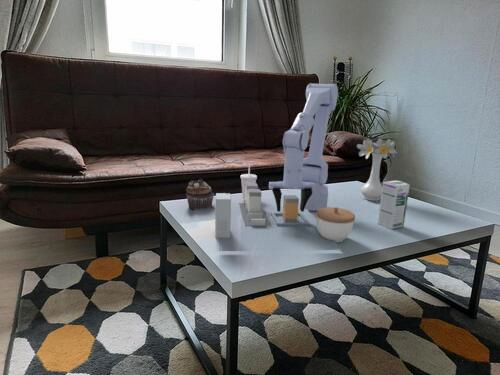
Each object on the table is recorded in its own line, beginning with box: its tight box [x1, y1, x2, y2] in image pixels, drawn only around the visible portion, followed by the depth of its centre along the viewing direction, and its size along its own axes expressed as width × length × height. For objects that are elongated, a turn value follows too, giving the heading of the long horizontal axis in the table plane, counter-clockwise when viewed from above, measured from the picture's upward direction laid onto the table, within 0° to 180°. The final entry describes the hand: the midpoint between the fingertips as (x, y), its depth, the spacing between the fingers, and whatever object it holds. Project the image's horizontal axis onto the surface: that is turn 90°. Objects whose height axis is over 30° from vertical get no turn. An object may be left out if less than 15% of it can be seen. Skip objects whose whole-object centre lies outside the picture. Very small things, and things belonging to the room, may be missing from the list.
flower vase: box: [356, 137, 399, 202], centre depth 139 cm, size 13×18×25 cm
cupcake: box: [185, 178, 215, 211], centre depth 121 cm, size 10×10×10 cm
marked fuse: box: [281, 194, 300, 223], centre depth 110 cm, size 4×4×8 cm
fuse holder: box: [238, 198, 272, 227], centre depth 116 cm, size 8×23×3 cm, turn 7°
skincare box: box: [214, 192, 232, 239], centre depth 97 cm, size 6×4×12 cm
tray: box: [271, 212, 310, 227], centre depth 111 cm, size 10×10×2 cm
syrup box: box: [377, 180, 411, 230], centre depth 111 cm, size 6×6×14 cm
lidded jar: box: [315, 206, 356, 243], centre depth 99 cm, size 11×11×9 cm
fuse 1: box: [245, 182, 259, 206], centre depth 122 cm, size 4×4×8 cm
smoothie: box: [240, 163, 258, 200], centre depth 132 cm, size 6×6×14 cm
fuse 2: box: [247, 188, 262, 213], centre depth 115 cm, size 4×4×8 cm
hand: (290, 210), depth 111 cm, fingers open, 7 cm apart
